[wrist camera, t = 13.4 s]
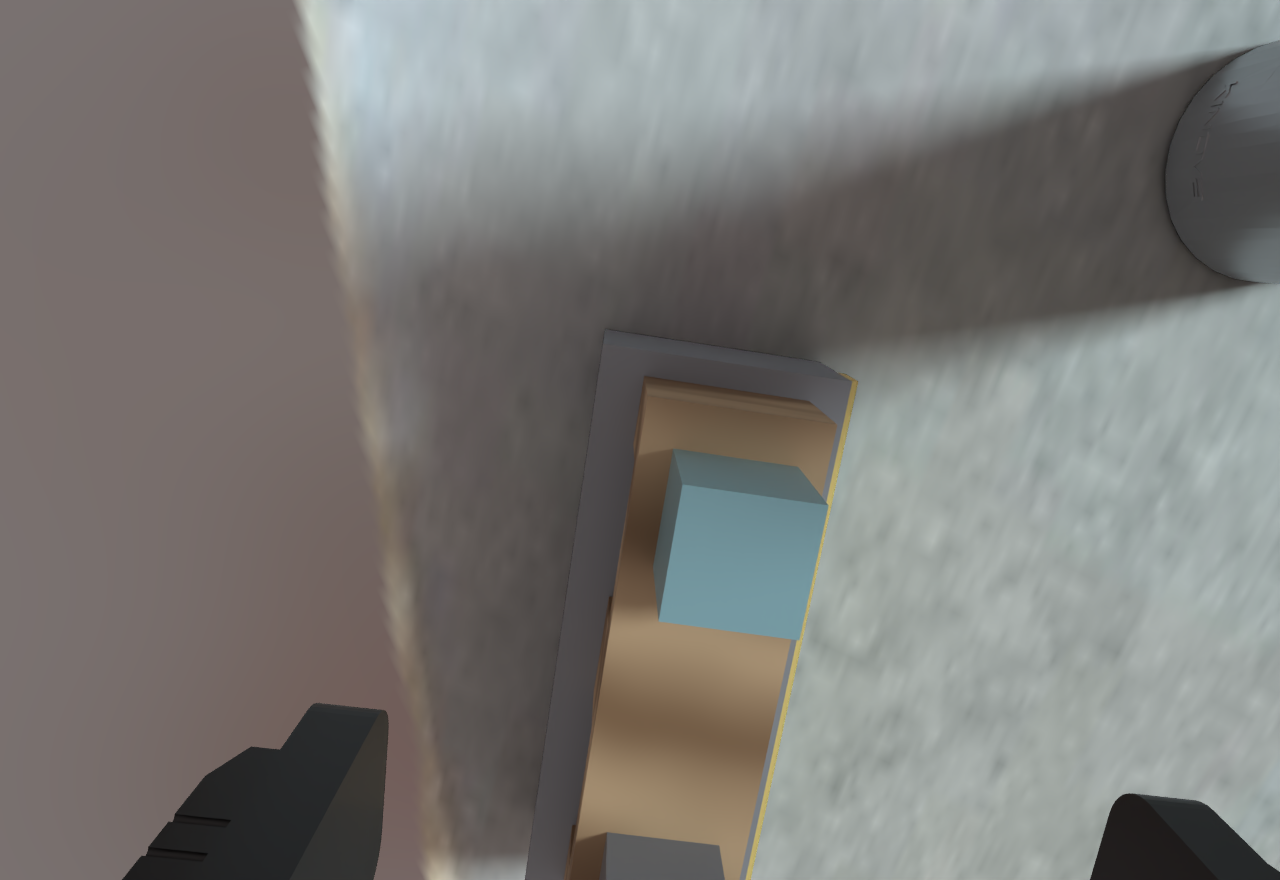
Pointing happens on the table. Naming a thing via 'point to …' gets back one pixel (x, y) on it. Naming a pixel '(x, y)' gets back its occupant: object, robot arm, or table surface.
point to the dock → (601, 546)
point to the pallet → (685, 647)
